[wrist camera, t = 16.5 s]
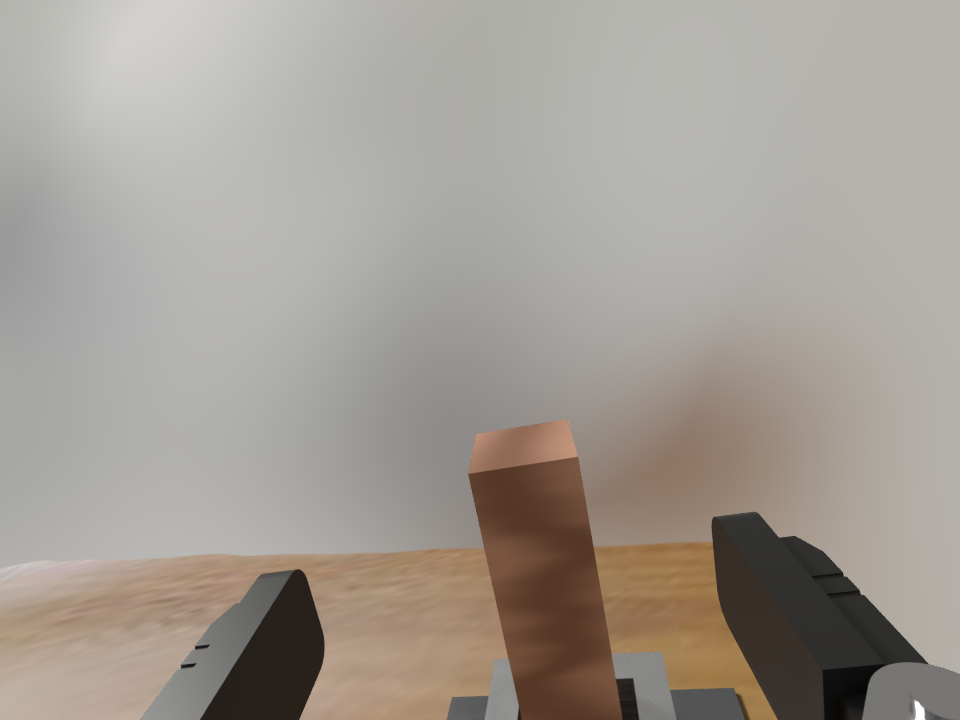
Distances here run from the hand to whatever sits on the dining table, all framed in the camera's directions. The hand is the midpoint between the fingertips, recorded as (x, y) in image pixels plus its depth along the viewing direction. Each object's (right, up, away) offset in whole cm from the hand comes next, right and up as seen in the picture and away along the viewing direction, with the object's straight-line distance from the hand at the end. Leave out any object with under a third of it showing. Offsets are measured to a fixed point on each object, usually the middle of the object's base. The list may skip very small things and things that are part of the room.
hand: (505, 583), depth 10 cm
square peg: (+5, -16, +15) cm, 22 cm away
